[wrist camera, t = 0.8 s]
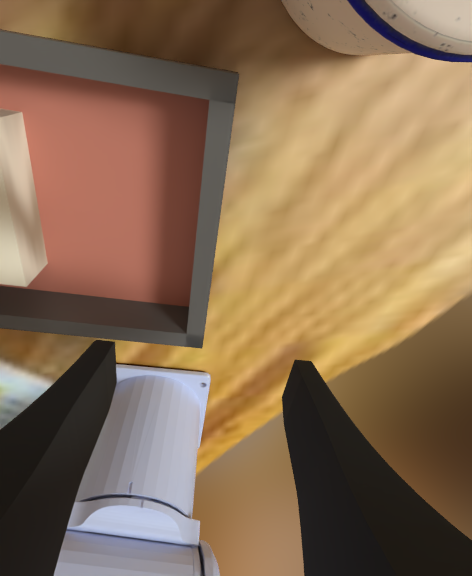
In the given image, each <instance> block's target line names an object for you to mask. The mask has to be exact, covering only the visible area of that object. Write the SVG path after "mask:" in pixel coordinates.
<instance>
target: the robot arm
mask: <svg viewBox="0 0 472 576" xmlns="http://www.w3.org/2000/svg"><path fill="white" fill-rule="evenodd" d="M210 380H211V377H210V375H209V374H208V373H205V372H196V371H185V370H174V369H164V368H153V367H142V366H131V365H121V364H116V355H115V342H112V341H102V340H96V341H94V342H93V343H92V344H91V346H90V347H89V348H88V349H87V350H86V351H85V352H84V353H83V354H82V355H81V356H80V358H79V359H78V360H77V361H76V362H75V363H74V364H73V365H72V366H71V367H70V368H69V369H68V370H67V371H66V372H65V373H64V374H63V375H62V376H61V377H60V378H59V379H58V380H57V381H56V382H55V383H54V384H53V385H52V386H51V387H50V388H49V389H48V390H47V391H45V392H44V393H43V394H42V395H41V396H40V397H39V398H38V399H36V400H35V401H34V402H33V403H32V404H31V405H30V406H29V407H28V408H26V409H25V410H24V411H23V412H22V413H20V414H19V415H18V416H17V417H16V418H14V419H13V420H12V421H11V422H9V423H8V424H7V425H6V426H4V427H3V428H2V429H1V430H0V576H220V574H219V568H218V564H217V561H216V558H215V556H214V555H213V552H212V550H211V547H210V546H209V544H208V543H207V542H205V541H201V540H199V529H200V521H199V520H194V519H192V510H193V497H194V486H195V473H196V461H197V449H198V448H199V447H200V441H201V435H202V429H203V423H204V417H205V411H206V405H207V399H208V393H209V386H210ZM282 403H283V418H284V427H285V432H286V438H287V443H288V448H289V453H290V458H291V463H292V469H293V474H294V479H295V485H296V490H297V497H298V505H299V515H300V525H301V537H302V548H303V560H304V575H305V576H472V540H470V539H469V538H468V537H467V536H465V535H464V534H463V533H462V532H460V531H459V530H458V529H457V528H455V527H454V526H453V525H452V524H451V523H450V522H448V521H447V520H446V519H445V518H444V517H443V516H442V515H440V514H439V513H438V512H437V511H436V510H435V509H433V508H432V507H431V506H430V505H429V504H428V503H427V502H426V501H425V500H424V499H422V497H420V496H419V495H418V494H417V493H416V492H415V491H414V490H413V489H412V488H411V487H410V486H409V485H408V484H407V483H406V482H405V481H404V480H403V479H402V478H401V477H400V476H399V475H398V474H397V473H396V472H395V471H394V470H393V469H392V468H391V467H390V466H389V465H388V464H387V462H385V460H384V459H383V458H382V457H381V456H380V455H379V454H378V452H377V451H376V450H375V449H374V448H373V447H372V446H371V444H370V443H369V442H368V441H367V440H366V438H365V437H364V436H363V435H362V433H361V432H360V431H359V430H358V428H357V427H356V426H355V424H354V423H353V422H352V420H351V419H350V418H349V417H348V415H347V414H346V412H345V411H344V409H343V408H342V407H341V405H340V404H339V402H338V401H337V399H336V398H335V397H334V395H333V394H332V392H331V391H330V389H329V388H328V386H327V385H326V383H325V382H324V380H323V378H322V377H321V375H320V374H319V372H318V371H317V369H316V368H315V366H314V365H313V363H312V362H311V361H303V360H295V361H294V364H293V367H292V370H291V372H290V375H289V378H288V381H287V384H286V387H285V390H284V393H283V396H282Z"/></svg>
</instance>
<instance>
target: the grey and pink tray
mask: <svg viewBox="0 0 472 576" xmlns="http://www.w3.org/2000/svg"><path fill="white" fill-rule="evenodd" d="M238 79H239V74H238V73H237V72H233V71H227V70H221V69H216V68H210V67H205V66H199V65H194V64H188V63H183V62H177V61H172V60H166V59H161V58H155V57H150V56H144V55H139V54H133V53H128V52H122V51H117V50H111V49H106V48H100V47H95V46H89V45H84V44H78V43H73V42H67V41H62V40H56V39H51V38H45V37H40V36H34V35H29V34H23V33H17V32H12V31H6V30H1V29H0V109H6V110H13V111H19V112H22V114H23V120H24V126H25V132H26V138H27V144H28V150H29V155H30V161H31V167H32V173H33V179H34V185H35V191H36V197H37V203H38V209H39V215H40V221H41V227H42V232H43V238H44V244H45V250H46V256H47V262H48V264H47V265H46V266H45V267H44V268H43V269H42V270H41V272H40V273H39V274H38V275H37V276H36V277H35V278H34V279H33V280H32V282H31V283H30V284H29V285H28V286H27V287H23V286H14V285H5V284H0V328H4V329H14V330H24V331H34V332H44V333H54V334H64V335H74V336H84V337H94V338H104V339H114V340H124V341H134V342H144V343H154V344H164V345H174V346H184V347H194V348H202V346H203V339H204V331H205V324H206V316H207V309H208V302H209V294H210V287H211V279H212V272H213V264H214V257H215V250H216V242H217V235H218V227H219V220H220V212H221V205H222V198H223V190H224V183H225V175H226V168H227V161H228V153H229V146H230V138H231V131H232V123H233V116H234V109H235V101H236V94H237V86H238Z"/></svg>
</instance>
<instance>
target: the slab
mask: <svg viewBox="0 0 472 576" xmlns="http://www.w3.org/2000/svg"><path fill="white" fill-rule="evenodd" d="M47 264H48V262H47V256H46V250H45V244H44V238H43V232H42V227H41V221H40V215H39V209H38V203H37V197H36V191H35V185H34V179H33V173H32V167H31V161H30V155H29V150H28V144H27V138H26V132H25V126H24V120H23V114H22V112H19V111H13V110H6V109H0V284H5V285H14V286H23V287H27V286H28V285H29V284H30V283H31V282H32V280H33V279H34V278H35V277H36V276H37V275H38V274H39V273H40V272H41V270H42V269H43V268H44V267H45V266H46V265H47Z"/></svg>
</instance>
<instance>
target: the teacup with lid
mask: <svg viewBox="0 0 472 576" xmlns="http://www.w3.org/2000/svg"><path fill="white" fill-rule="evenodd" d="M281 1H282V3H283V4H284V6H285V8H286V10H287V12H288V13H289V15H290V16H291V17H292V19H293V20H294V22H295V23H296V24H297V25H298V26H299V27H300V29H301V30H302V31H303V32H304V33H306V34H307V35H308V36H309V37H310V38H312V39H313V40H314V41H316V42H317V43H319V44H320V45H322V46H324V47H326V48H328V49H331V50H333V51H336V52H339V53H343V54H349V55H381V54H401V53H414V54H417V55H420V56H424V57H428V58H431V59H435V60H442V61H449V62H472V0H281Z"/></svg>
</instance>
